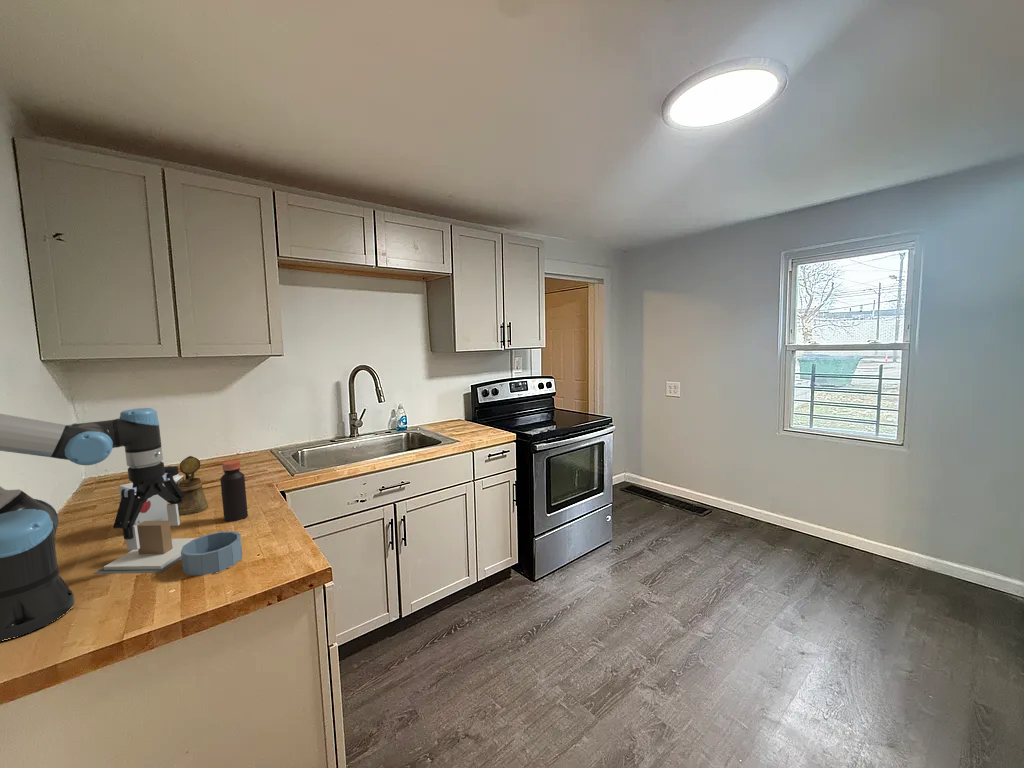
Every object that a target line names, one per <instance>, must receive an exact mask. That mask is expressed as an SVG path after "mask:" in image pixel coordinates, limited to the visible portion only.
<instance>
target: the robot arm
mask: <svg viewBox="0 0 1024 768" xmlns="http://www.w3.org/2000/svg"><path fill="white" fill-rule="evenodd" d="M119 415H120V416H119V417H118V418H114V419H109V420H108V419H107V420H99V421H90V422H82V423H80V422H79V423H76V422H75V423H72V424H63V423H56V422H53V421H52V422H51V421H44V420H38V419H34V418H26V417H22V416H18V415H17V416H16V415H10V414H4V413H0V452H5V453H13V454H23V455H30V456H37V457H38V456H39V457H46V458H54V459H57V460H58V459H59V460H66V461H70V462H71V463H73V464H75V465H79V466H92V465H97V464H100V463H101V462H103V461H105V460H106V459H107V458H108V457H109V456H110V455H111V453H112V451H113V449H115V448H117V449H118V448H120V447H124V452H125V461H126V462H125V463H126V466H127V467H128V468H127V474H128V475H127V476H128V480H129V481H130V483H133V487H132V488H130V489H123V490H122V491H121V500H120V502H119V506H118V509H117V513H116V515H115V520H114V523H113V527H112V528H113V529H122V535H123V539H124V540H125V544H126V550H127V551H128V550H129V551H132V550H138V549H139V548H140V544H139V537H138V529H137V525H134V523H135V521H136V519H137V517H138V515H139V513H140V510H141V508H142V506H143V504H144V502H146V501H147V499H148V498H150V497H152V496H153V495H157V494H158V495H159V496H160V497H162V498H163V499H164V500H166V501H167V505H166V506H167V514H168V521H170V527H177V526H180V525H181V522H180V514H179V504H178V503H181V502H182V499H183V498H184V494H183V493H182V491H181V490H180V488H179V487H178V485H177V484H176V482H175V481H174V479H173V475H172V473H165V469H164V467H165V464H164V462H163V460H164V458H163V457H164V456H163V451H162V450H163V449H162V441H161V440H162V439H161V430H160V423H159V422H160V421H159V417H158V412H157V410H155V409H154V408H151V407H142V408H141V407H140V408H131V409H126V410H122V411H121V412H120V414H119ZM163 484H164V485H165V486H164V485H163ZM138 497H140V498H138ZM59 519H60V518H59V515H58V512H57V511H56V509H55V508H54V507H53V506H52V505H51V504H50V503H48V502H46V501H45V500H42V499H37V498H33V497H32V496H30V495H29V494H27V492H25V491H23V490H21V489H5V488H4V487H2V486H0V641H2V640H4V639H8V638H13V637H17V636H20V637H22V636H21V635H23V636H25V635H24V634H26V635H28V634H27V633H29V634H31V633H33V632H32V631H34V630H36V629H39V628H41V627H43V626H45V627H47V626H48V625H47V624H49V623H51V622H52V621H54V620H56V619H57V618H59V617H60V616H62V615H63V614H65V613H66V612H67V611H68V610H69V609H70V608H71V607H72V606H73V607H74V605H75V603H74V602H75V595H74V592H73V591H72V590H71V589H70V587H69V586H68V585H67V583H66V582H65V581H64V580H63V579H62V577H61V575H60V572H59V571H60V570H59V565H58V558H57V552H56V550H57V549H56V546H55V545H56V542H55V541H56V540H55V539H56V534H57V530H58V527H59V522H60V520H59ZM128 521H129V523H128ZM65 615H66V614H65ZM56 621H57V620H56ZM51 624H52V623H51ZM46 625H47V626H46ZM49 625H50V624H49ZM43 628H44V627H43ZM41 629H42V628H41ZM39 630H40V629H39ZM36 631H37V630H36ZM30 632H31V633H30ZM34 632H35V631H34ZM17 638H18V637H17Z"/></svg>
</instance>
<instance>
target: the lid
mask: <svg viewBox="0 0 1024 768" xmlns="http://www.w3.org/2000/svg"><path fill="white" fill-rule="evenodd" d="M137 529H138V537H139V544H140V548H139V549H138V550H129V552H127V553H125V554H123V555H121V556H120V557H118V558H116V559H115V560H112V561H111V562H109V563H107V564H106V565H104V566H103V567H104V570H150V569H162V568H164V567H165V566H167V565H168V564H170V563H171V562H173V561H174V560H175V559H177V558H178V557H180V556H181V550H182V547H183V546H184V545H186V544H187V543H189V542H190V541H192V540H194V539H196V538H197V537H194V538H191V537H190V538H189V537H188V538H187V537H185V538H182V537H181V538H180V537H179V538H173V537H172V531H171V530H172V529H171V526H170V521H144V522H142V523H140V524H138V525H137Z"/></svg>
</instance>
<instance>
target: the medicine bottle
mask: <svg viewBox="0 0 1024 768" xmlns="http://www.w3.org/2000/svg"><path fill="white" fill-rule="evenodd" d="M164 469H165V473H172V475H173V479H174V481H175V482H176V484H177V485H178V486H179V482H180V481H181V480H185V478H184V475H180V474H179V467H178V466H177V465H166V466H165V465H164Z"/></svg>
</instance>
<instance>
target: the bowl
mask: <svg viewBox="0 0 1024 768" xmlns="http://www.w3.org/2000/svg"><path fill="white" fill-rule="evenodd" d="M195 538H196V539H194V540H192V541H190V542H189V543H187V544H186V545H184V546H183V547H182V550H181V565H182V566H181V567H182V572H183V573H185V574H186V575H188V576H204V575H210V574H212V573H216V572H220V571H222V570H224V569H226V568H229V567H230V566H233V565H234V566H236V565H237V564H238V563H239V562H240V561H241V560H242V559H243V547H242V546H243V545H242V534H241V533H239V532H237V531H235V530H233V531H232V530H230V531H229V530H226V531H225V530H224V531H221V530H220V531H218V532H212V533H207V534H205V535H201V536H199V537H195ZM239 560H240V561H239ZM238 561H239V562H238ZM237 562H238V563H237ZM236 563H237V564H236ZM235 564H236V565H235ZM234 566H233V567H234ZM229 569H230V568H229ZM226 570H227V569H226ZM224 571H225V570H224ZM222 572H223V571H222ZM220 573H221V572H220ZM216 574H217V573H216Z"/></svg>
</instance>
